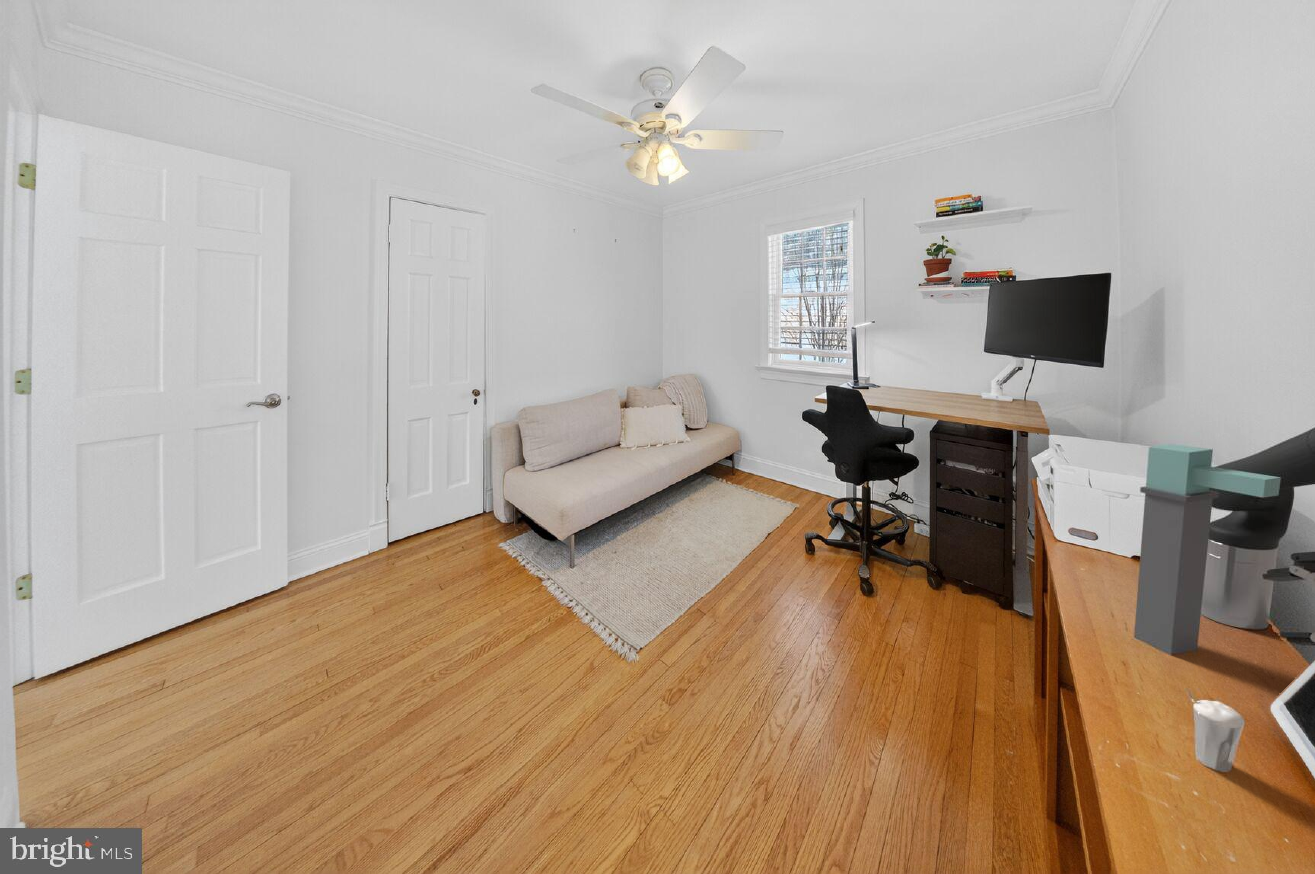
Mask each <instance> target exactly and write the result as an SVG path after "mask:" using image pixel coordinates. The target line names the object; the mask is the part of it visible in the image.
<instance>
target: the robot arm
mask: <svg viewBox="0 0 1315 874" xmlns="http://www.w3.org/2000/svg"><path fill="white" fill-rule="evenodd" d="M1215 467H1216V468H1223V469H1229V470H1236V471H1242V472H1249V473H1255V474H1262V475H1268V476H1274V477H1281V479H1280V487H1279V495H1277V496H1270V497H1257V496H1252V495H1247V494H1242V493H1236V492H1231V491H1226V490H1220V489H1215V488H1210V487H1209V490H1211V491H1216V492H1219V497H1218V498H1213V500H1212V508H1213V509H1217V510H1221V511H1227V512H1230V513H1229V514H1228V515H1225V516H1223V517H1221V518H1219V519H1215V520H1212V521H1210V529H1209V539H1208V549H1207V558H1206V568H1205V578H1204V588H1203V597H1202V607H1201V615H1202V616H1203V617H1206V618H1208V619H1210V620H1212V621H1215V622H1217V623H1220V624H1222V625H1227V626H1230V627H1235V628H1240V629H1245V630H1246V629H1247V630H1264V629H1266V628H1268V626H1269V621H1270V612H1271V606H1272V605H1271V604H1272V598H1273V590H1274V584H1275V583H1274V582H1290V581H1291V582H1294V581H1303V580H1305V581H1306V582H1308V583H1311V584H1313V585H1315V551H1305V552H1293V553H1292V554H1290V559H1291V560H1292V561H1293V565H1291V566H1290V567H1283V568H1276V566H1277V557H1278V550H1279V543H1280V541H1281V539H1283V537H1284V536H1285V535H1286V533H1287V532H1288V528H1289V523H1290V519H1291V514H1292V510H1293V505H1294V501H1295V488H1299V487H1305V486H1306V487H1307V486H1311V485H1312V486H1314V485H1315V427H1312V428H1311V429H1309V430H1306V431H1305V432H1302V433H1301V434H1298V435H1296V436H1293V437H1291V438H1288V439H1286V440H1284V441H1281V442H1279V443H1277V444H1275V445H1273V446H1271V447H1268V448H1265V449H1263V450H1262V451H1260V452H1258V453H1254V454H1251V455H1249V456H1246V457H1243V458H1239V459H1237V460H1233V461H1230V462H1226V463H1223V464H1220V465H1217V466H1215ZM1267 619H1268V621H1267ZM1278 634H1279V636H1280V638H1282V639H1286V642H1288V643H1290V644H1295V645H1301V646H1314V647H1315V631H1314V632H1307V631H1306V632H1302V631H1300V632H1298V631H1296V632H1294V631H1293V632H1292V631H1289V632H1288V631H1287V632H1286V631H1280V632H1278Z"/></svg>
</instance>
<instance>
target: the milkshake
mask: <svg viewBox="0 0 1315 874" xmlns="http://www.w3.org/2000/svg"><path fill="white" fill-rule="evenodd" d="M1185 690H1186V692H1187V693H1188V696H1189V698H1190V700H1191V702H1192V704H1193V705H1192V706H1193V722H1194V751H1195V752H1194V753H1195V754H1194V755H1195V757H1196V758H1195V759H1196V760H1197V761H1199V762H1200V763H1201V764H1202V765H1203V766H1205V767H1207V768H1210V769H1211V770H1214V771H1217V772H1221V773H1228V772H1231V771H1232V767H1233V765H1234V760H1235V758H1236V753H1237V749H1238V747H1239V745H1238V744H1239V742H1240V738H1241V735H1242V733H1243V729H1244V727H1245V723H1246V722H1245V720H1244V718H1243V717H1242V715H1241V714H1239V712H1237V710H1235V709H1234V708H1232V707H1231V706H1228V705H1226V704H1224V703H1223V702H1221V701H1217V700H1208V699H1201V700H1197V701H1195V700H1194V699H1193V696H1192V694H1191V692H1190V691H1189V688H1188V687H1186V689H1185Z"/></svg>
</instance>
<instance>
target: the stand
mask: <svg viewBox="0 0 1315 874" xmlns="http://www.w3.org/2000/svg"><path fill="white" fill-rule="evenodd" d="M1139 490H1140V491H1139V493H1143V494H1144V495H1145V496H1144V506H1143V516H1142V517H1143V519H1142V531H1141V544H1140V555H1139V556H1140V557H1139V570H1138V582H1137V583H1138V584H1137V595H1136V606H1135V607H1136V608H1135V609H1136V610H1135V620H1134V621H1135V622H1134V634H1133V637H1134V638H1135V639H1138V640H1140V641H1141V642H1144V643H1145V644H1147V645H1150V646H1152V647H1153V648H1156V649H1157V650H1160V651H1161V652H1164V653H1165V654H1167V655H1170V656H1173V655H1178V654H1179V655H1180V654H1183V653H1189V652H1194V651H1197V650H1198V644H1199V636H1200V635H1199V634H1200V626H1201V617H1202V616H1201V615H1202V614H1201V607H1202V597H1203V588H1204V578H1205V568H1206V558H1207V549H1208V539H1209V529H1210V522H1211V520H1212V519H1211V518H1212V510H1213V509H1212V508H1213V507H1212V500H1213V498H1218V497H1219V492H1216V491H1211V490H1209V492H1204V493H1197V494H1190V495H1182V494H1177V493H1173V492H1168V491H1163V490H1158V489H1154V488H1149V487H1146V486H1141V487H1140V489H1139Z"/></svg>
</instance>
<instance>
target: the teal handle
mask: <svg viewBox="0 0 1315 874" xmlns="http://www.w3.org/2000/svg"><path fill="white" fill-rule="evenodd" d="M1213 451H1214V450H1213V449H1212V448H1206V447H1197V446H1192V445H1191V446H1189V445H1183V444H1173V443H1170V444H1160V445H1155V446H1149V447H1148V456H1147V468H1146V480H1145V481H1146V483H1145V487H1149V488H1154V489H1158V490H1163V491H1168V492H1173V493H1177V494H1182V495H1190V494H1197V493H1204V492H1209V487H1210V488H1215V489H1220V490H1226V491H1231V492H1236V493H1242V494H1247V495H1252V496H1257V497H1270V496H1277V495H1279V487H1280V479H1281V477H1274V476H1268V475H1262V474H1255V473H1249V472H1242V471H1236V470H1229V469H1223V468H1216V466H1212V464H1213V463H1212V462H1213Z"/></svg>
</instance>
